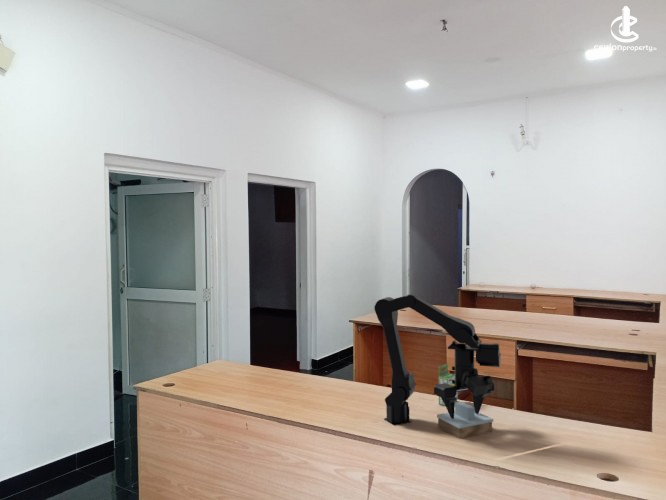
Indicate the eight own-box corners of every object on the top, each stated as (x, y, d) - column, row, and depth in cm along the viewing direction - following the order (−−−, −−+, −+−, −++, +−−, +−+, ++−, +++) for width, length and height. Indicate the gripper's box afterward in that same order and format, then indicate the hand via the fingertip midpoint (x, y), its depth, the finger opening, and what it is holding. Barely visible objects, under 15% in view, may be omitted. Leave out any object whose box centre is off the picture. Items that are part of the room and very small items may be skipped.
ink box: (448, 407, 178) (448, 368, 178) (438, 405, 180) (438, 366, 180) (458, 402, 183) (457, 364, 183) (447, 400, 186) (447, 363, 186)
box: (459, 440, 148) (459, 427, 148) (438, 428, 157) (438, 417, 157) (491, 433, 154) (491, 421, 153) (469, 422, 163) (469, 411, 163)
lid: (459, 428, 148) (459, 413, 148) (436, 417, 158) (436, 403, 158) (493, 421, 153) (493, 407, 153) (469, 411, 163) (469, 397, 163)
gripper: (456, 374, 144) (456, 429, 144) (507, 366, 152) (507, 419, 152) (432, 365, 154) (432, 417, 154) (481, 359, 162) (481, 408, 162)
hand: (464, 416), depth 155 cm, fingers open, 9 cm apart
